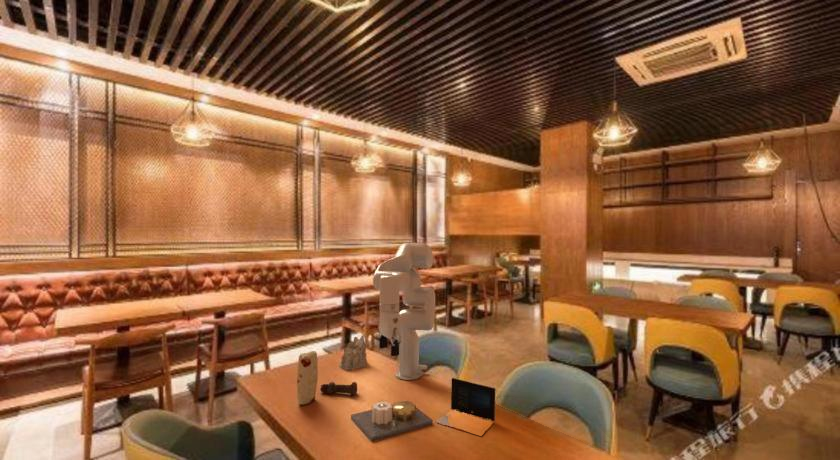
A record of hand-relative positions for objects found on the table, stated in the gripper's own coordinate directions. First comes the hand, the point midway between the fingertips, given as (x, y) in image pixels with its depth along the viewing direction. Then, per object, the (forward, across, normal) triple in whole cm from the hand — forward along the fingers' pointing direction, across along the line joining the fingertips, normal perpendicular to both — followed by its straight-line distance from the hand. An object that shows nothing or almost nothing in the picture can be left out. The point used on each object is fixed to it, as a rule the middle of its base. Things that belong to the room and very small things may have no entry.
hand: (389, 351), depth 151 cm
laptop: (+24, -22, -20) cm, 38 cm away
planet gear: (+21, -8, +7) cm, 24 cm away
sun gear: (+22, -8, -2) cm, 23 cm away
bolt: (+24, +25, +11) cm, 36 cm away
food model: (+23, +23, +25) cm, 41 cm away
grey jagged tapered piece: (+26, +57, -8) cm, 63 cm away
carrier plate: (+23, -8, +3) cm, 24 cm away
